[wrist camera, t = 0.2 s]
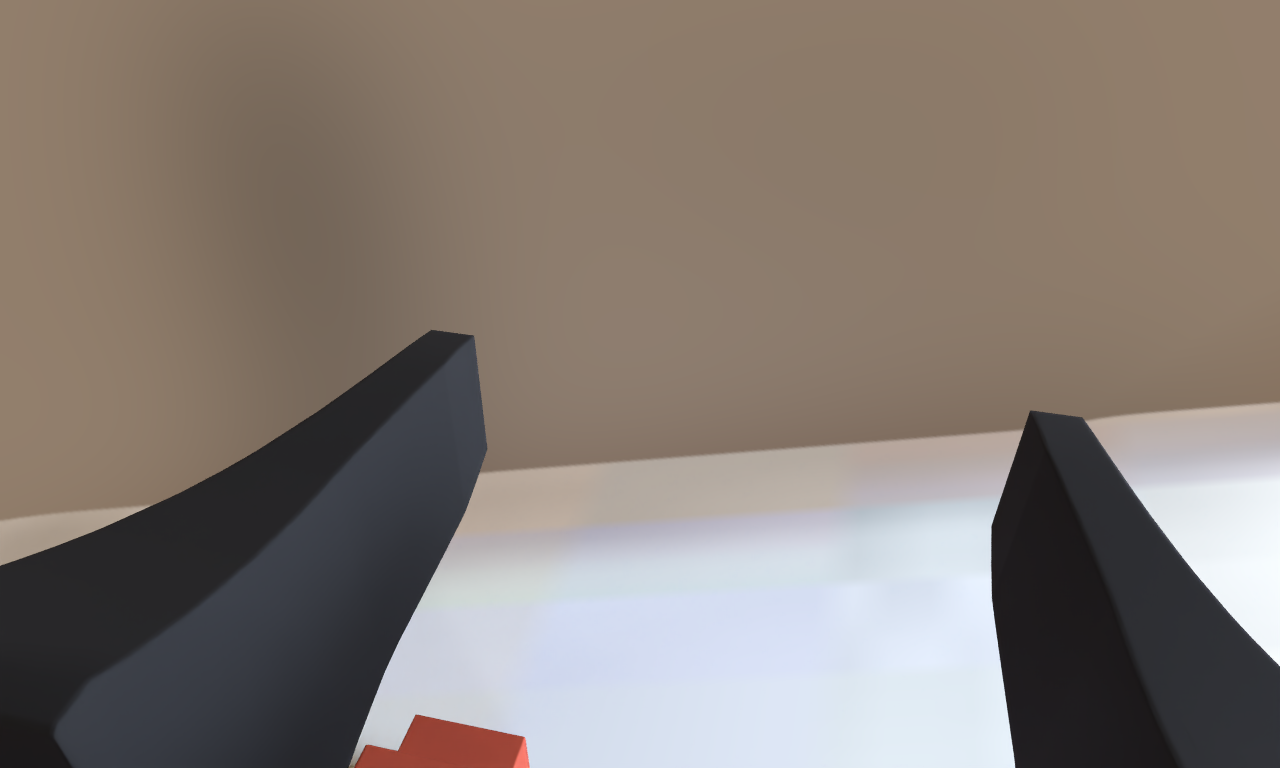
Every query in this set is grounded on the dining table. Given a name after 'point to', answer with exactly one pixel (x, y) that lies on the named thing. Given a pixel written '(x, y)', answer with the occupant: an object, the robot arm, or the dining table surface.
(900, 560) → the dining table surface
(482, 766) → the stepped red block
